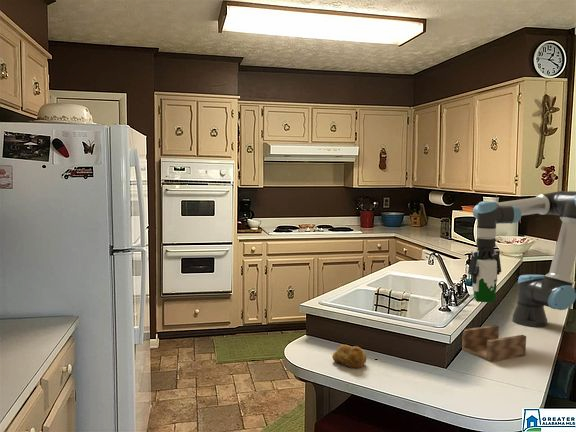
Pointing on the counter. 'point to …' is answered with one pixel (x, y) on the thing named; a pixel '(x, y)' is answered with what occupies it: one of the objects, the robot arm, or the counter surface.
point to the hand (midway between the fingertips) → (484, 289)
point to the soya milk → (486, 280)
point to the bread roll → (350, 356)
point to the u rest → (492, 344)
